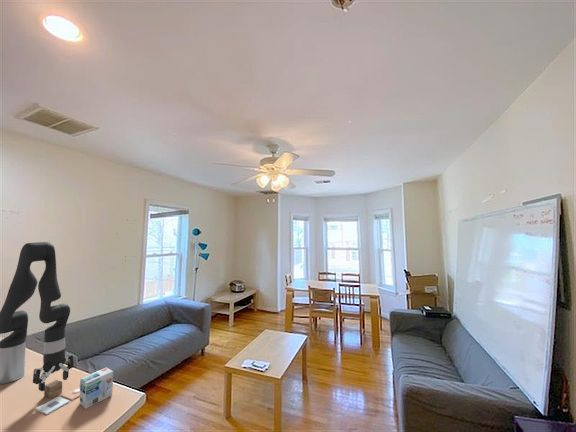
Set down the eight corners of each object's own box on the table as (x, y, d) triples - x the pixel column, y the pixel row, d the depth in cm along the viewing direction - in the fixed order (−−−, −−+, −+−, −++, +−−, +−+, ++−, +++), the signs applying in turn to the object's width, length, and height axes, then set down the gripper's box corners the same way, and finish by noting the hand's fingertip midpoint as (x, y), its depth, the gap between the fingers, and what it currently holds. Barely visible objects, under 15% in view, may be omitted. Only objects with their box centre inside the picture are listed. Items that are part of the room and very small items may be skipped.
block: (44, 396, 115) (44, 385, 115) (56, 390, 119) (56, 379, 119) (50, 399, 113) (50, 387, 114) (62, 392, 118) (62, 381, 118)
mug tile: (61, 396, 115) (61, 394, 115) (80, 385, 122) (80, 384, 123) (72, 400, 112) (72, 398, 112) (91, 389, 120) (91, 387, 120)
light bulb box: (85, 409, 107) (85, 383, 107) (78, 403, 110) (79, 378, 111) (113, 394, 116) (113, 370, 116) (106, 389, 120) (107, 366, 120)
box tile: (35, 409, 107) (35, 407, 107) (58, 397, 114) (58, 395, 114) (47, 414, 104) (47, 412, 104) (69, 402, 111) (69, 400, 111)
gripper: (67, 341, 125) (66, 374, 124) (29, 355, 112) (29, 392, 111) (77, 343, 122) (76, 377, 122) (39, 358, 109) (39, 396, 108)
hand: (53, 385), depth 116 cm, fingers open, 8 cm apart
